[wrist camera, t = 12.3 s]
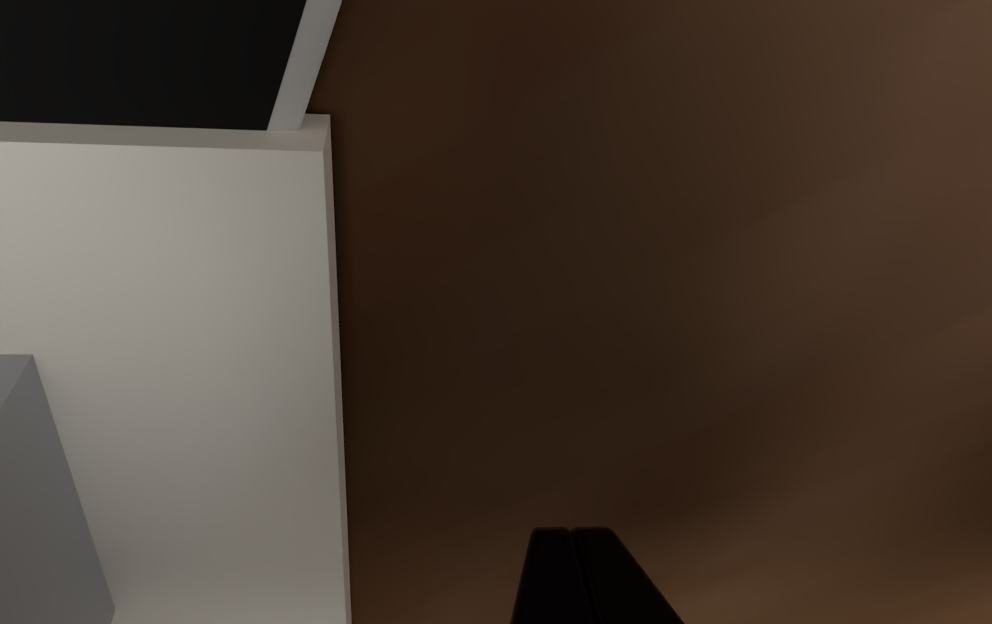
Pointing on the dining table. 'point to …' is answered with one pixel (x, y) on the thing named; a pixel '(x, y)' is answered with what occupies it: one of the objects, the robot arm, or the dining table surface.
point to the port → (188, 358)
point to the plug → (42, 514)
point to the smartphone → (162, 61)
